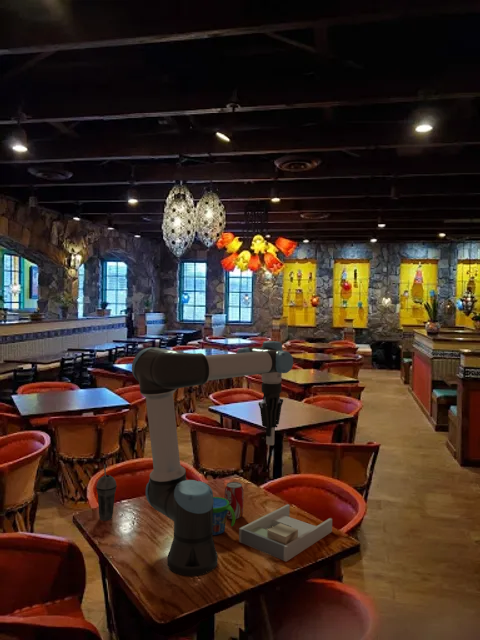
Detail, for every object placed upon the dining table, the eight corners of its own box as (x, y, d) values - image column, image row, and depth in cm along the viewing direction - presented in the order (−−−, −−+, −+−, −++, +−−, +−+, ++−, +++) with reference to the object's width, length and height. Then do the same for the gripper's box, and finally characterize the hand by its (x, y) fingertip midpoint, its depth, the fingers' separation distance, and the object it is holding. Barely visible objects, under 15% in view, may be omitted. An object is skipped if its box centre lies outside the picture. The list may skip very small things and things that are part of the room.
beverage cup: (120, 516, 181) (121, 462, 181) (106, 524, 175) (107, 468, 174) (105, 512, 184) (106, 459, 184) (91, 519, 178) (92, 464, 178)
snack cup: (186, 531, 170) (186, 502, 170) (204, 520, 179) (204, 492, 179) (224, 543, 162) (224, 512, 162) (240, 531, 171) (241, 502, 171)
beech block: (285, 549, 154) (285, 536, 153) (267, 542, 158) (267, 530, 158) (297, 541, 159) (297, 529, 159) (279, 535, 163) (280, 523, 163)
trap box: (286, 561, 151) (286, 547, 151) (238, 541, 163) (239, 528, 163) (331, 531, 173) (332, 518, 172) (287, 516, 185) (287, 504, 185)
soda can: (242, 520, 180) (243, 488, 180) (223, 520, 180) (224, 487, 180) (243, 512, 187) (243, 481, 187) (224, 512, 187) (225, 480, 187)
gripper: (269, 385, 178) (267, 449, 179) (289, 381, 188) (288, 443, 189) (253, 382, 183) (251, 445, 184) (273, 379, 193) (272, 439, 194)
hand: (270, 444), depth 186 cm, fingers closed
